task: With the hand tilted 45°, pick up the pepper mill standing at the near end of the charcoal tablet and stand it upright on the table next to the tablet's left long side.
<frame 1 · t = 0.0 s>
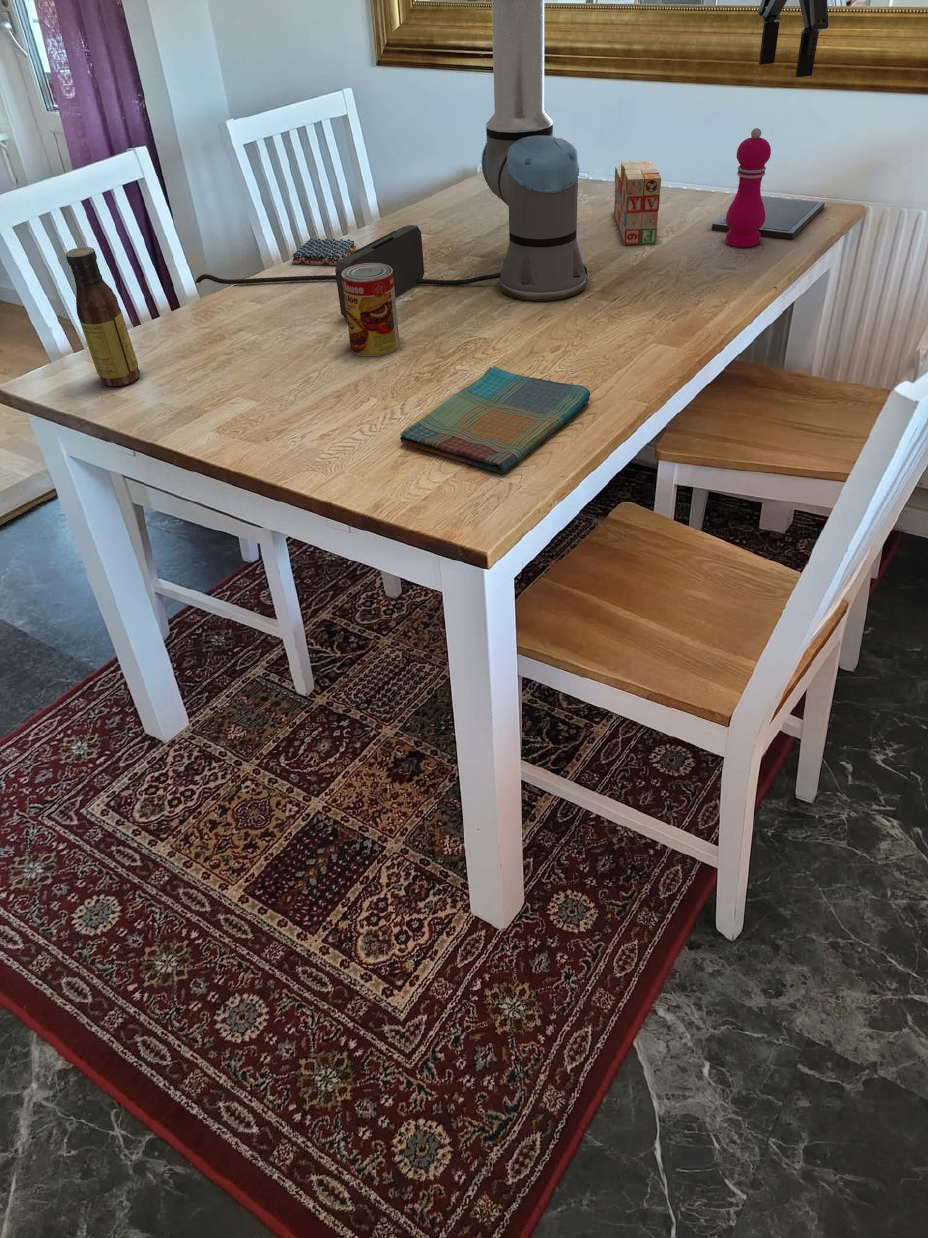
hand: (784, 69, 174), 28 cm above the table, tool pointing down, fingers open, 13 cm apart
woven mat: (324, 257, 192), on the table
tablet: (768, 218, 197), on the table
stack of blocks: (633, 228, 197), on the table
dish towel: (498, 425, 133), on the table
handheld gaming console: (384, 300, 172), on the table
sauce bottle: (120, 381, 151), on the table
canned food: (375, 347, 156), on the table
pepper mill: (742, 243, 186), on the table
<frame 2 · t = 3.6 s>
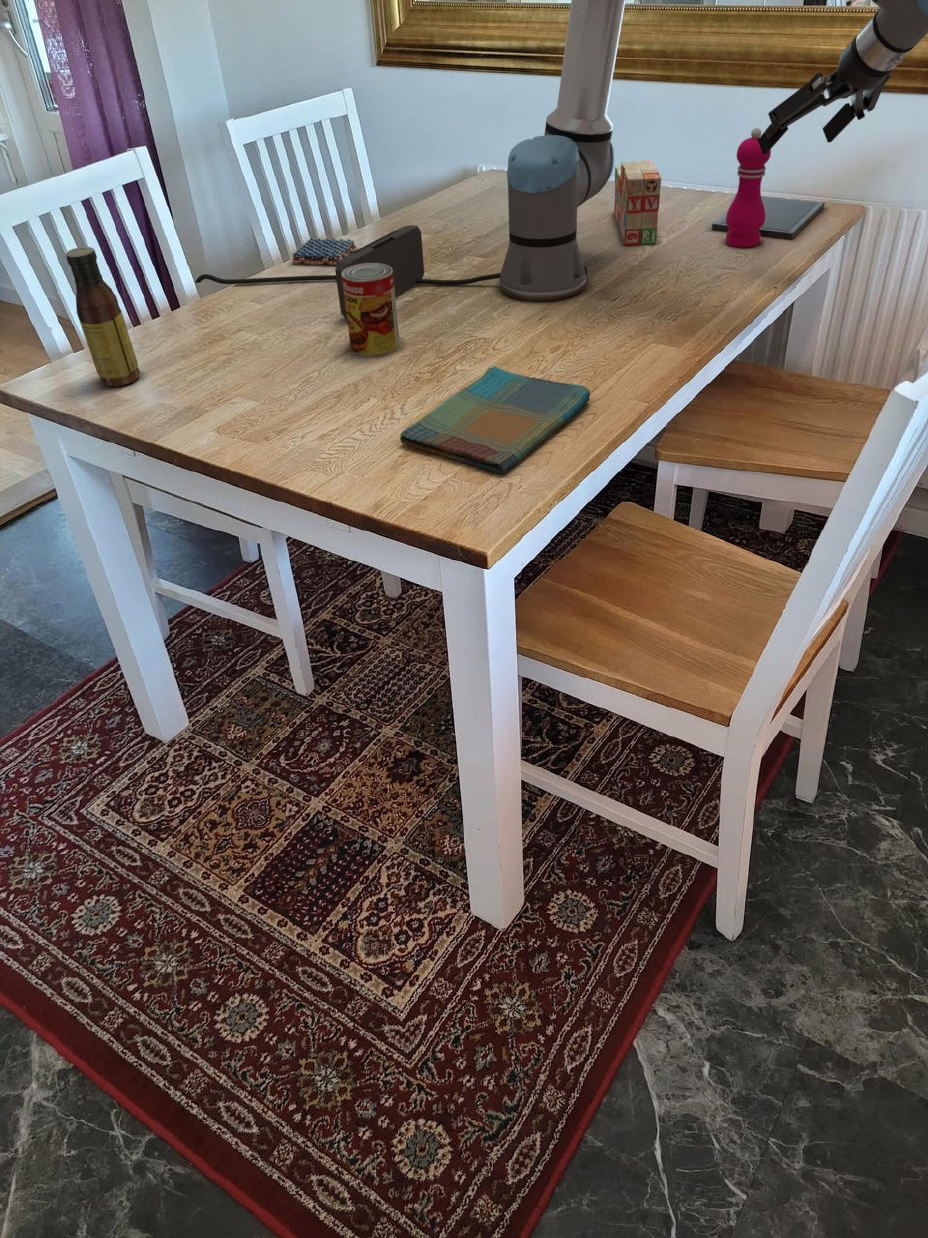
hand: (794, 141, 167), 20 cm above the table, tool tilted 45°, fingers open, 13 cm apart
nothing on the table moved.
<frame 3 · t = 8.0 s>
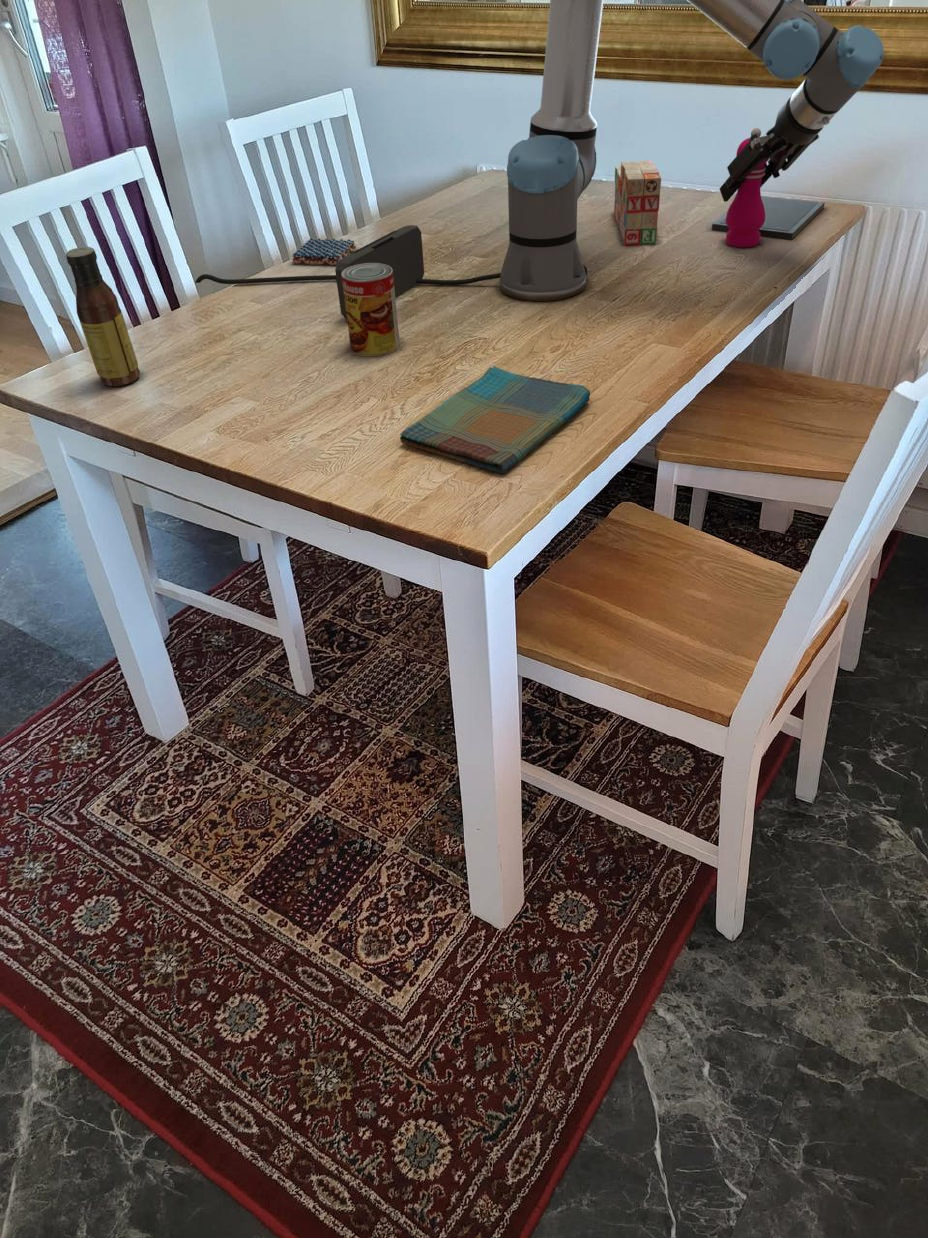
hand: (736, 192, 184), 8 cm above the table, tool tilted 45°, fingers closed on pepper mill, 5 cm apart
pepper mill: (742, 243, 186), on the table, touching gripper
everything else where it was.
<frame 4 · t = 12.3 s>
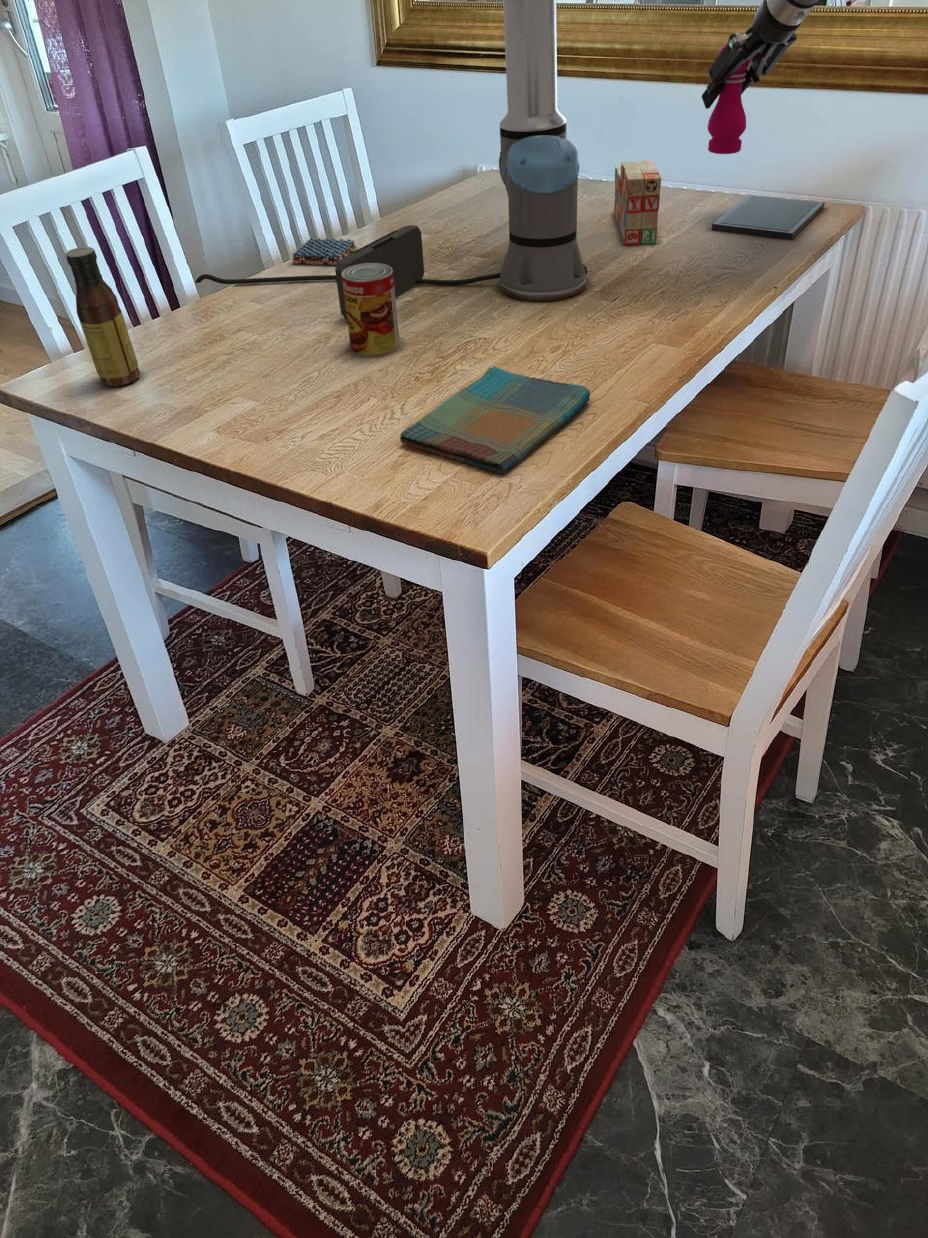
hand: (717, 99, 188), 21 cm above the table, tool tilted 45°, fingers closed on pepper mill, 5 cm apart
pepper mill: (724, 151, 190), point 13 cm above the table, touching gripper
everything else where it was.
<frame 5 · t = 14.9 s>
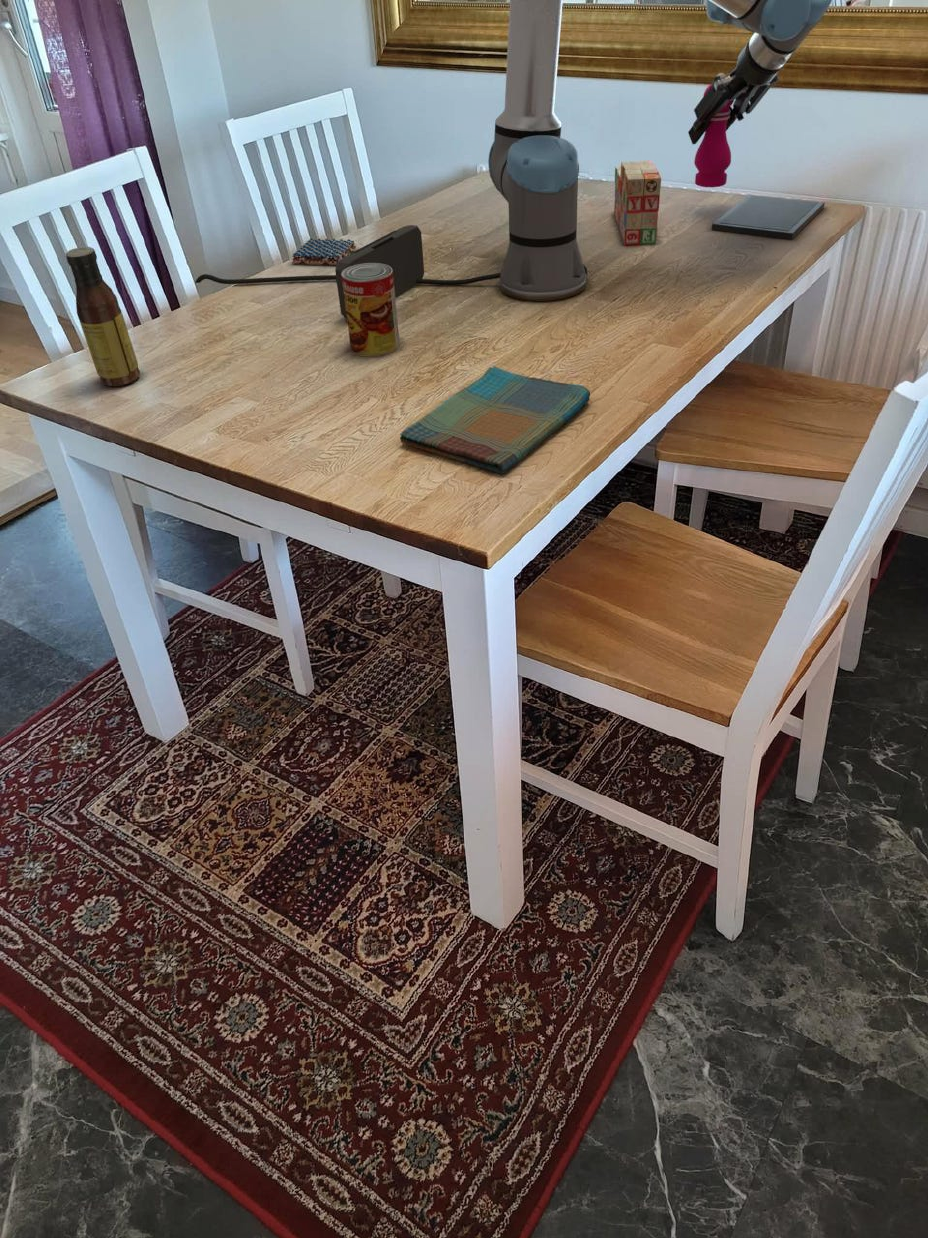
hand: (703, 135, 196), 14 cm above the table, tool tilted 45°, fingers closed on pepper mill, 5 cm apart
pepper mill: (710, 184, 199), point 5 cm above the table, touching gripper
everything else where it was.
when the fingers open (8 cm above the table, at t = 16.8 s): pepper mill stays where it is, on the table.
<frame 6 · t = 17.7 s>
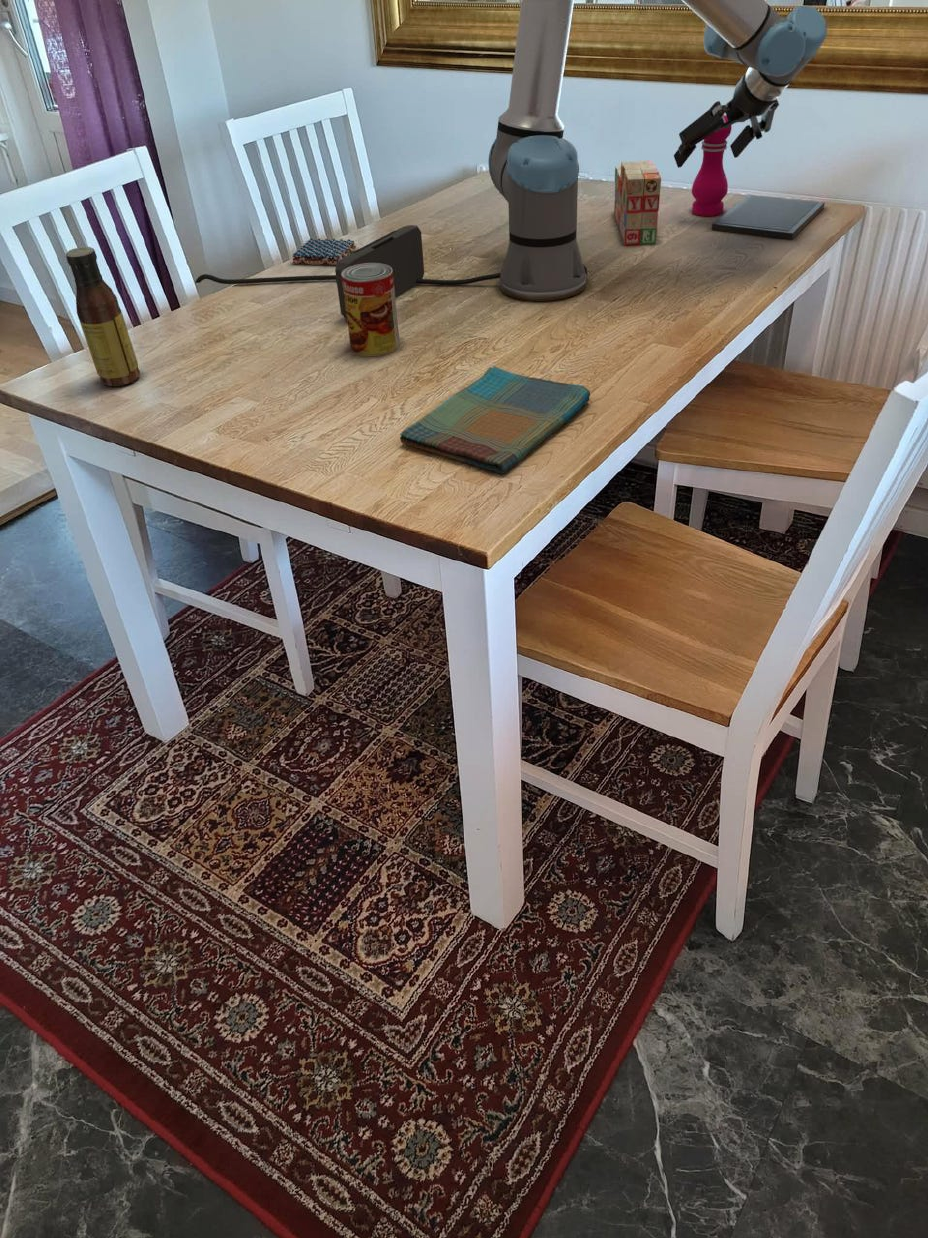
hand: (705, 156, 198), 10 cm above the table, tool tilted 45°, fingers open, 13 cm apart
pepper mill: (707, 212, 203), on the table
everything else where it was.
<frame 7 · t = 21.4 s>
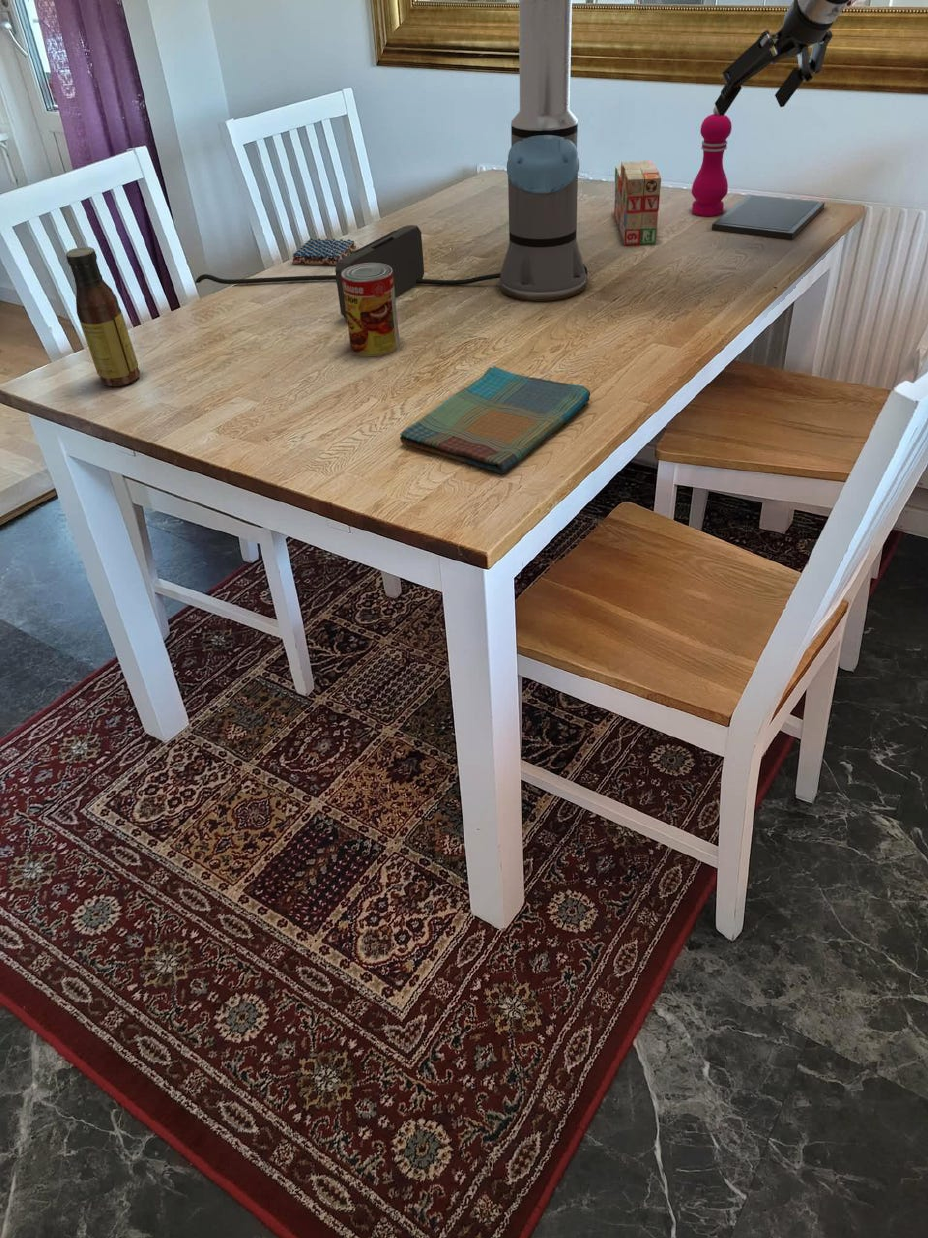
hand: (749, 105, 180), 22 cm above the table, tool tilted 40°, fingers open, 13 cm apart
nothing on the table moved.
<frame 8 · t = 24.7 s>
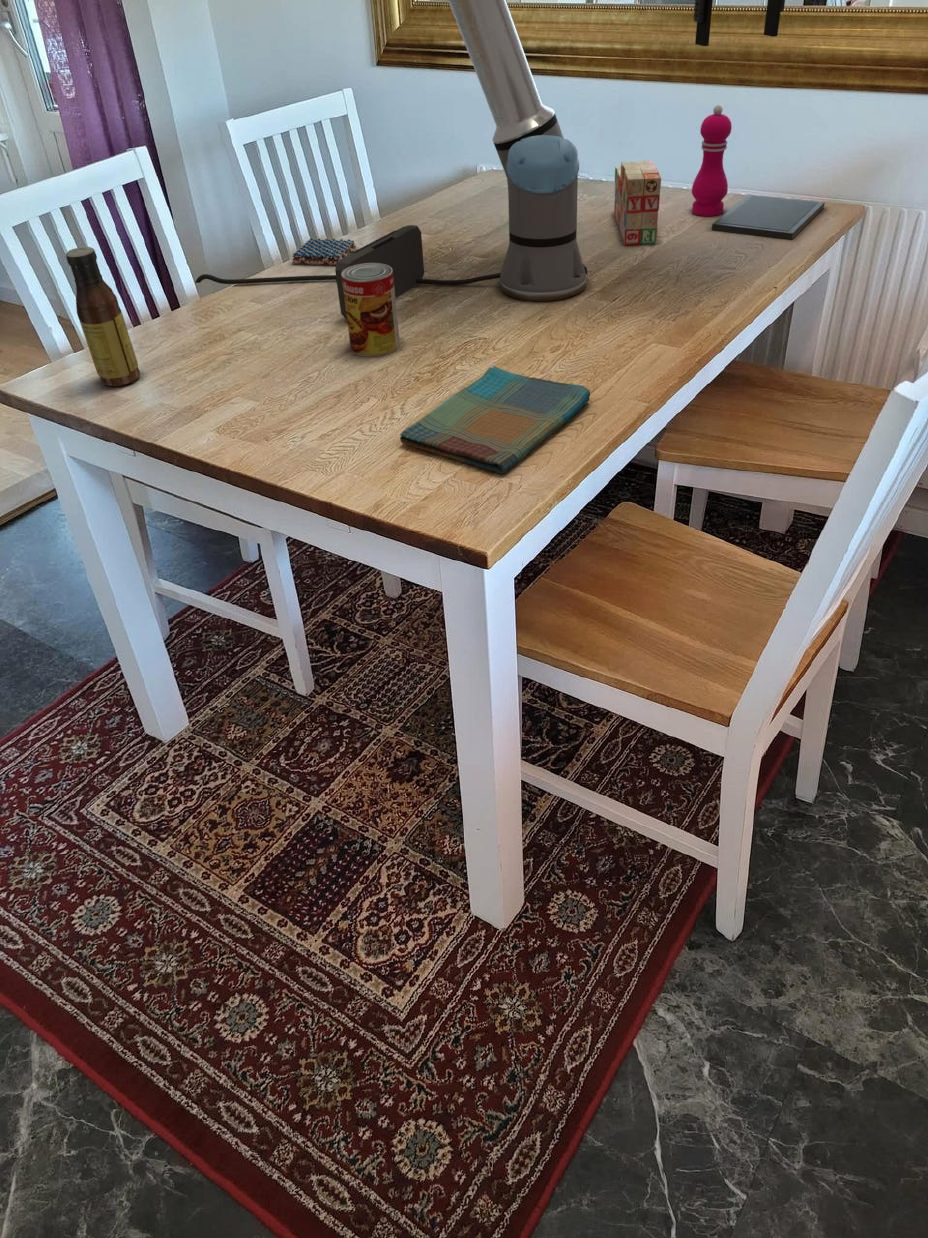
hand: (736, 40, 161), 35 cm above the table, tool pointing down, fingers open, 13 cm apart
nothing on the table moved.
at the end: pepper mill 0.4 cm from the target spot on the table beside the tablet, on the table; pepper mill tilted 0°; pepper mill touching table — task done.
